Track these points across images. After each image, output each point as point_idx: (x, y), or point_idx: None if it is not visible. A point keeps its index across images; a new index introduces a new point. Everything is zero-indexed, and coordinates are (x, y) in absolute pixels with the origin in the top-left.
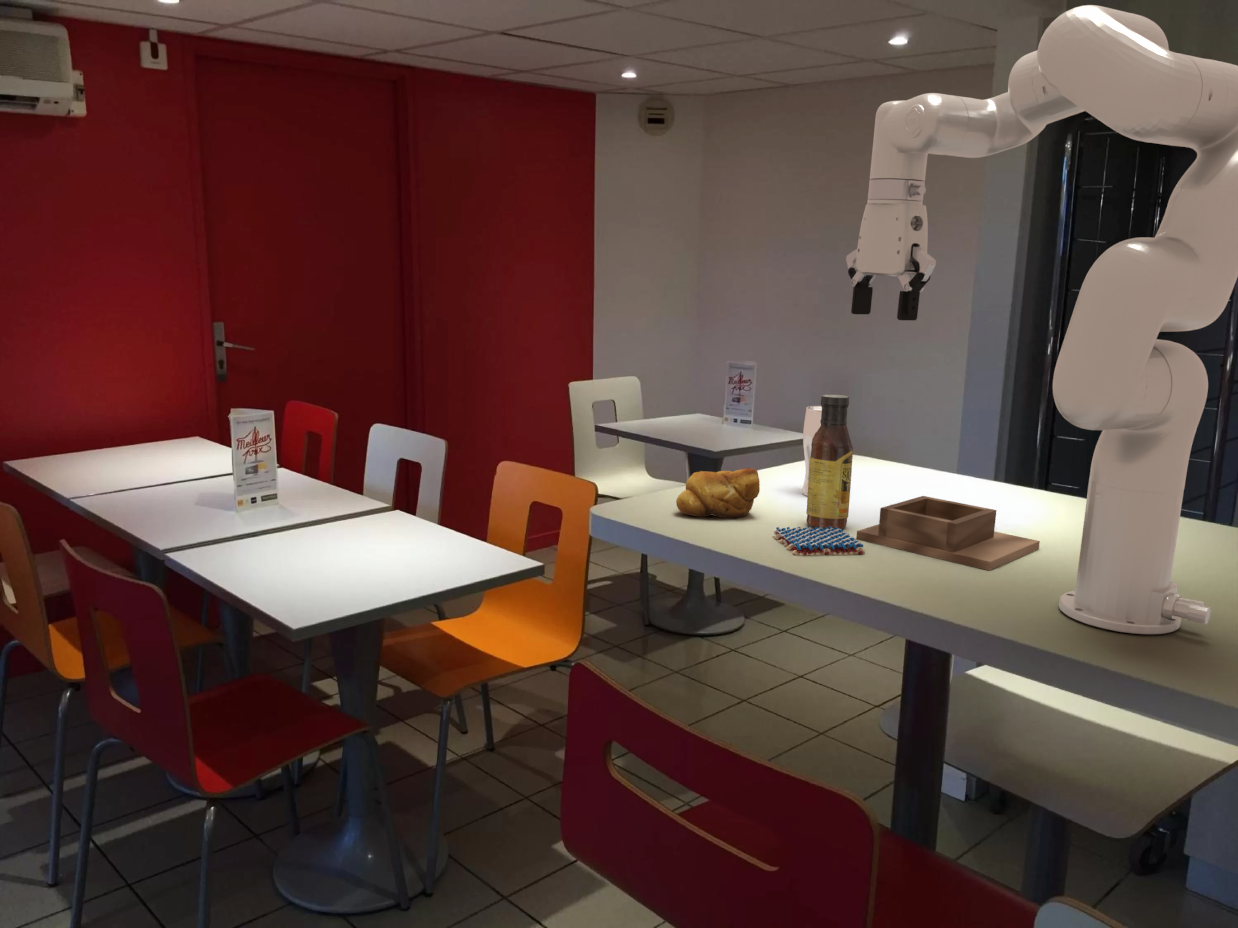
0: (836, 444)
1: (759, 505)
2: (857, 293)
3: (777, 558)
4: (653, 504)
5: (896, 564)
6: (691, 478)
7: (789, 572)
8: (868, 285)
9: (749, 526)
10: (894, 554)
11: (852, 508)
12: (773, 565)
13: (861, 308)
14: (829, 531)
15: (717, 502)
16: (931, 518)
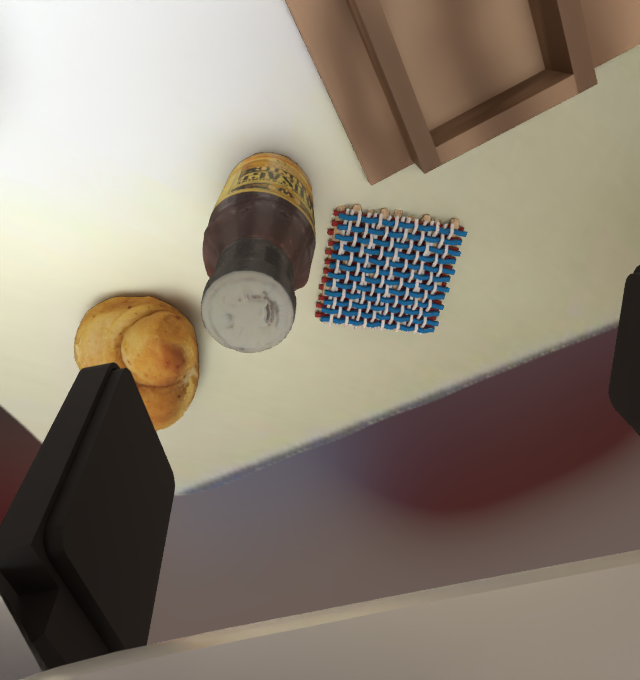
0: (308, 268)
1: (81, 247)
2: (150, 614)
3: (430, 357)
4: None
5: (527, 197)
6: None
7: (493, 368)
8: (55, 610)
9: None
10: (478, 165)
11: (108, 29)
12: (458, 375)
13: (150, 465)
14: (366, 243)
15: (197, 383)
16: (539, 112)
